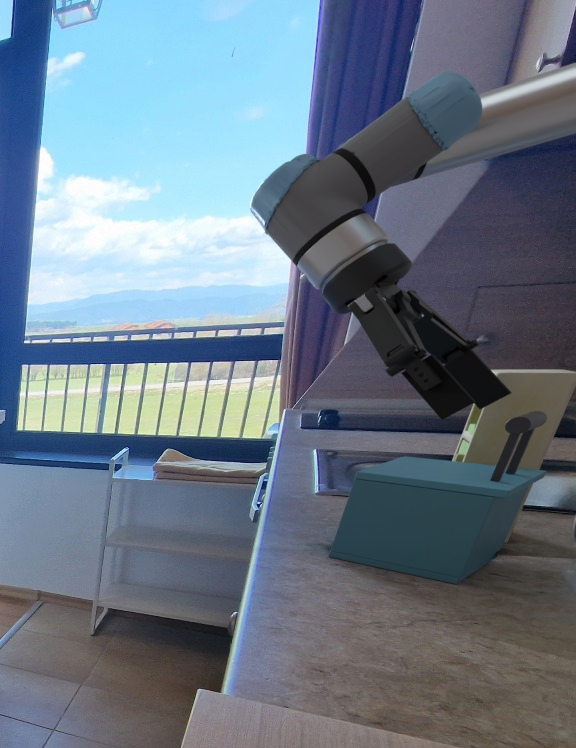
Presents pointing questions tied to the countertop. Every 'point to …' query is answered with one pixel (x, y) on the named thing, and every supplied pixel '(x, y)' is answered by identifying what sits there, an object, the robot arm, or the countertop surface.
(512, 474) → the lid
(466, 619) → the countertop surface
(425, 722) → the countertop surface
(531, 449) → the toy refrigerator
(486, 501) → the teal storage box
